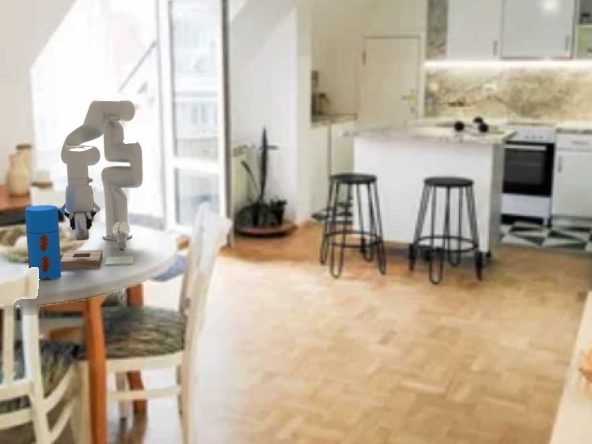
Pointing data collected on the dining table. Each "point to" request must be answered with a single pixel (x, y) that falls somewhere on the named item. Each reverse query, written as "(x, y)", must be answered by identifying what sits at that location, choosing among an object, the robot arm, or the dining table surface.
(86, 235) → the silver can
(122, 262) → the pad
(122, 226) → the light bulb
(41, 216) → the thermos
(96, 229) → the dining table surface
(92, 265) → the block
